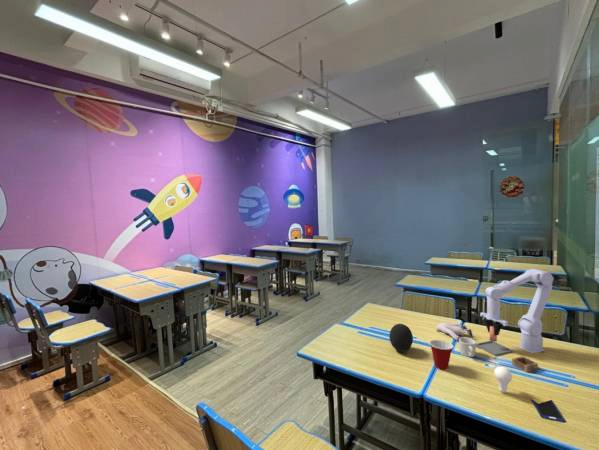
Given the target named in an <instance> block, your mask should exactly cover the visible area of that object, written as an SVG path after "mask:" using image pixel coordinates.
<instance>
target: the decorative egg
mask: <svg viewBox="0 0 599 450" xmlns="http://www.w3.org/2000/svg"><path fill="white" fill-rule="evenodd" d="M389 331H390V332H389V336H388V337H389V342H390V344H391V345H392V347H393V349H395V350H396V351H398V352H406V351H408V350H409V349H410V348H412V345H413V342H414V337H413V332H412V330H411V329H410V327H409V326H407V325H406V324H403V323H397V324H394V325H393V326H392V327H391V329H390V330H389Z"/></svg>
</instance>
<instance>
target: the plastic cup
mask: <svg viewBox="0 0 599 450" xmlns="http://www.w3.org/2000/svg"><path fill="white" fill-rule="evenodd" d="M428 344H429V346H430V349H431V352H432V353H431V354H432V357H433V358H432V359H433V362H434V363H433V364H434V367H435V368H436V369H438V370H441V371H446V370H448V368H449V364H450V359H451V354H452V350H453V348H454V345H453V344H452V343H451V342H449V341H446V340H443V339H431V340H429V343H428Z"/></svg>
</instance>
